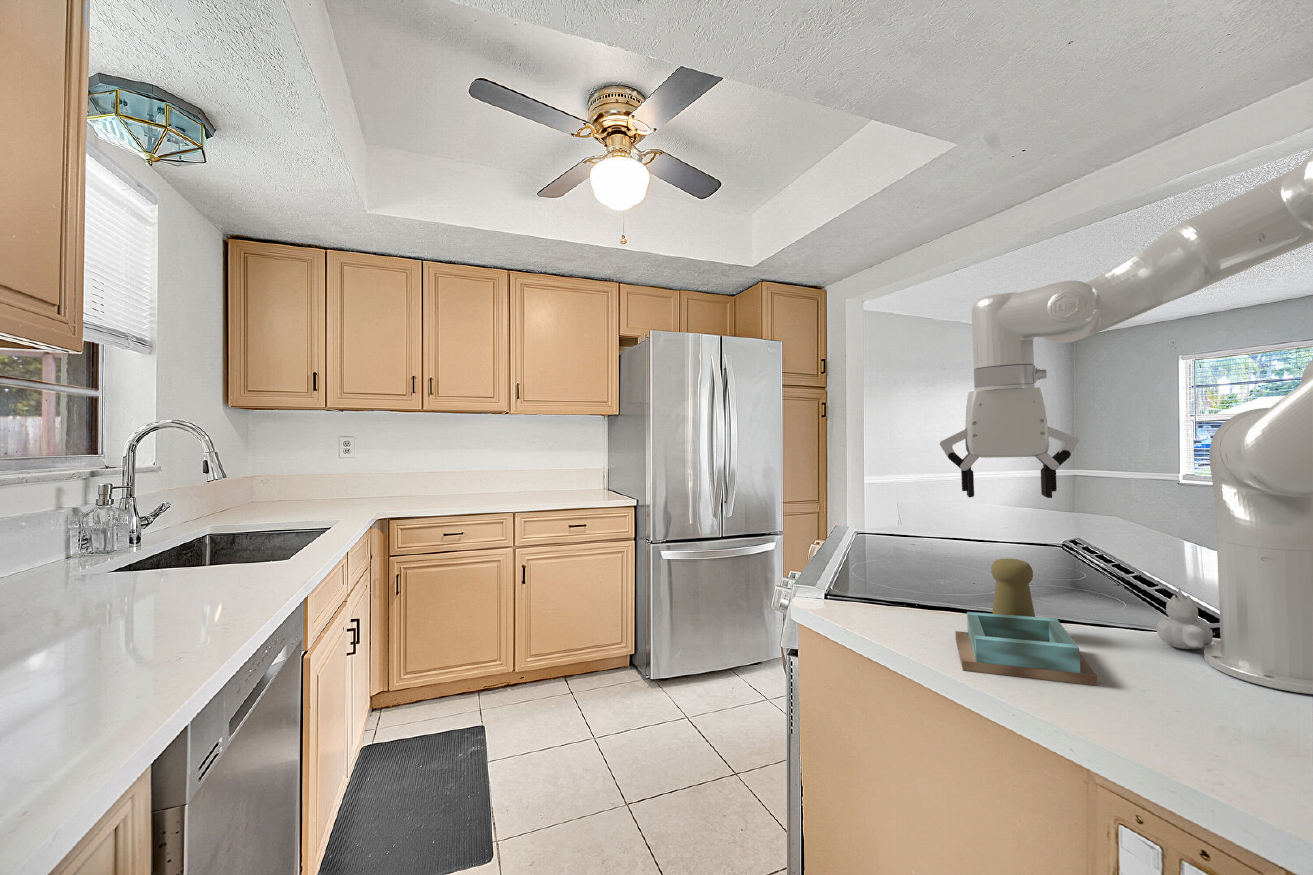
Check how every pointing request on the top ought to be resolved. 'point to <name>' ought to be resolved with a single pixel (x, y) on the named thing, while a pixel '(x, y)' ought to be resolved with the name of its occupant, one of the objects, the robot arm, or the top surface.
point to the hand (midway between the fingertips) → (1007, 496)
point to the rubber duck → (1183, 624)
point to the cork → (1012, 587)
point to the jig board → (1022, 648)
